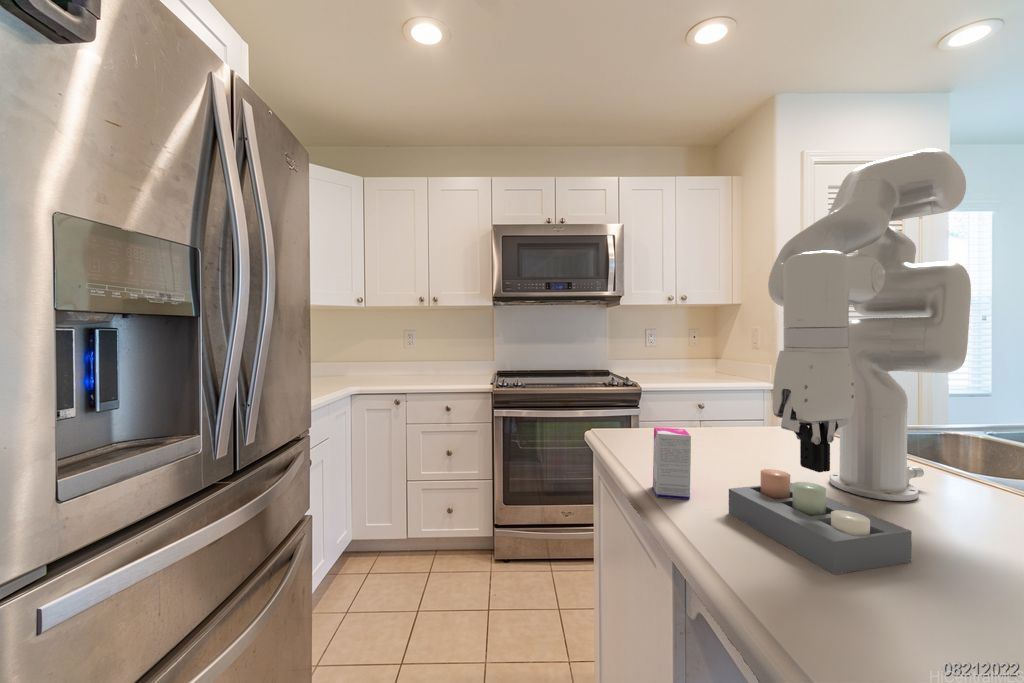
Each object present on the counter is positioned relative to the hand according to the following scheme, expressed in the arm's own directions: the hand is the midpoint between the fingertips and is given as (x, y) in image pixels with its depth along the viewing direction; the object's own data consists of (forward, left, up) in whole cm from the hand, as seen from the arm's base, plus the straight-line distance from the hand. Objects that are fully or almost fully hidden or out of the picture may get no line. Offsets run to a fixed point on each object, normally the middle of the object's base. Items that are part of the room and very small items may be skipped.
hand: (814, 468), depth 61 cm
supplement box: (+10, -20, -10) cm, 24 cm away
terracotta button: (0, -7, -7) cm, 9 cm away
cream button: (0, +5, -9) cm, 10 cm away
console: (0, -1, -10) cm, 10 cm away
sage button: (0, -1, -7) cm, 7 cm away
